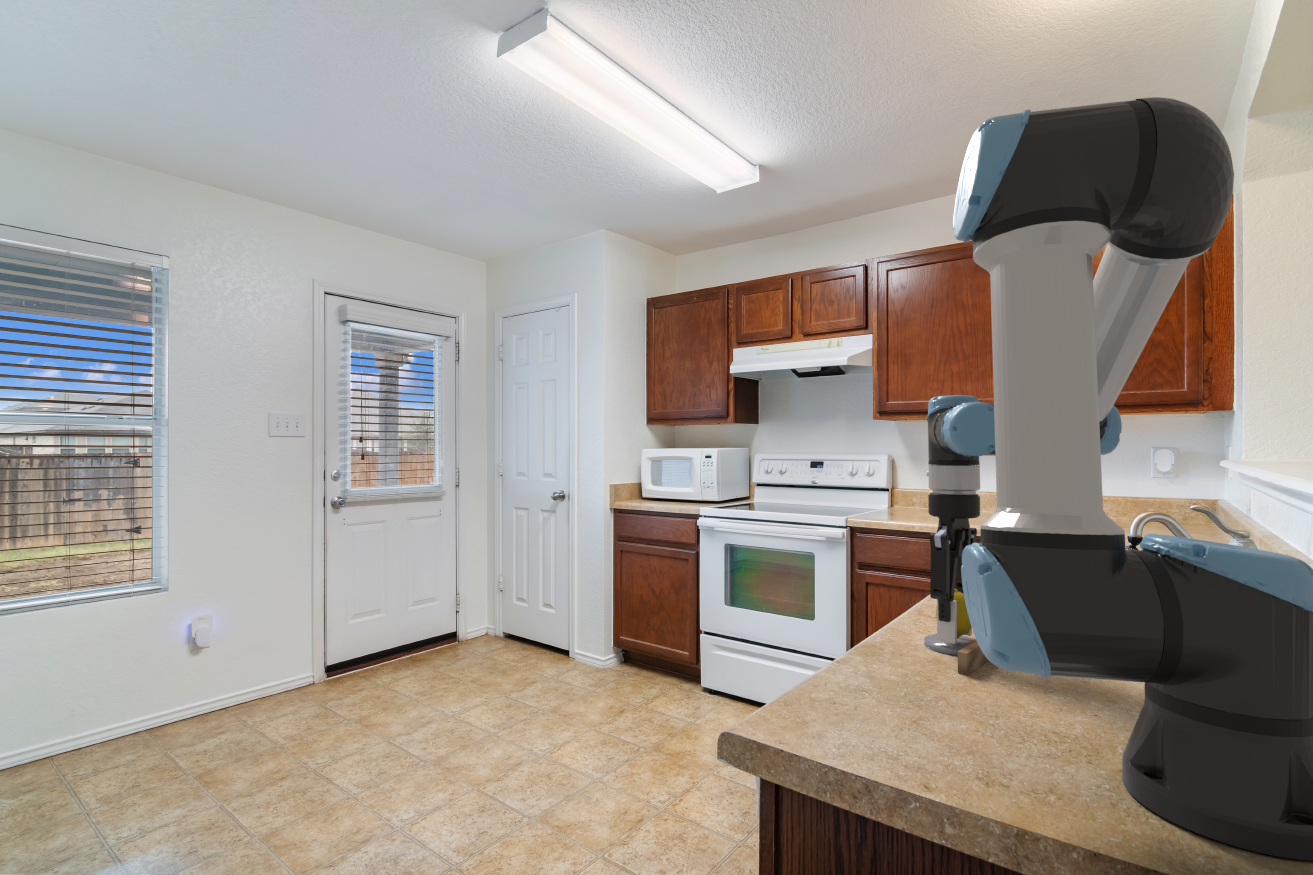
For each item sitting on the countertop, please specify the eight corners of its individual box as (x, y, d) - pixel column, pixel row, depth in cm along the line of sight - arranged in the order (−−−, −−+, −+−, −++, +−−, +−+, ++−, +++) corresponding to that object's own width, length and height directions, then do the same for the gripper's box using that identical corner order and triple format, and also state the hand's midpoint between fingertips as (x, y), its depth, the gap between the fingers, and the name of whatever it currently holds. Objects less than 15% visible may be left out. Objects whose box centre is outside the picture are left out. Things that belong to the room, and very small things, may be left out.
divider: (966, 674, 89) (966, 653, 89) (957, 672, 89) (957, 651, 90) (1008, 647, 101) (1008, 628, 101) (1000, 645, 102) (1000, 626, 102)
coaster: (974, 660, 95) (974, 654, 95) (914, 646, 101) (914, 641, 101) (994, 647, 101) (994, 642, 101) (937, 635, 108) (937, 630, 108)
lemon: (978, 645, 98) (978, 593, 98) (940, 643, 99) (940, 591, 99) (968, 635, 103) (968, 586, 104) (932, 633, 105) (932, 584, 105)
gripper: (952, 488, 111) (953, 622, 110) (905, 493, 98) (906, 644, 98) (998, 490, 106) (999, 631, 105) (955, 495, 93) (956, 655, 92)
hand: (954, 637), depth 101 cm, fingers closed on lemon, 5 cm apart
